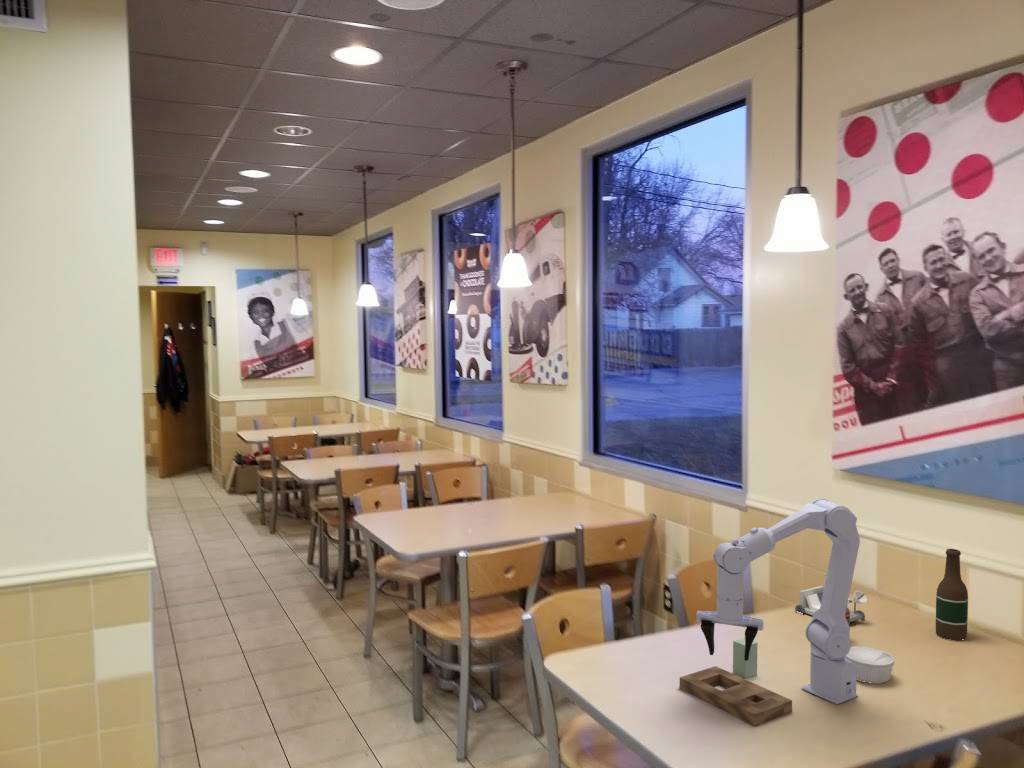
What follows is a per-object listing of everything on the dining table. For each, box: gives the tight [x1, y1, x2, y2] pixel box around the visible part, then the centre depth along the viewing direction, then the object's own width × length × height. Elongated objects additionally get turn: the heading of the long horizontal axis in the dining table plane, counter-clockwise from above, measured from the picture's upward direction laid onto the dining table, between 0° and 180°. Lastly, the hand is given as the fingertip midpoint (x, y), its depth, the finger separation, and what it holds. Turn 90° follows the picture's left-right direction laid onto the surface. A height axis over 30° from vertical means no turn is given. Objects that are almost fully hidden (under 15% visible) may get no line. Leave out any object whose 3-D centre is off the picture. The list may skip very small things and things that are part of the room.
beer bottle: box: [935, 548, 969, 641], centre depth 214 cm, size 8×8×24 cm
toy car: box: [794, 585, 868, 623], centre depth 229 cm, size 18×10×12 cm
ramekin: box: [845, 646, 895, 684], centre depth 189 cm, size 11×11×5 cm
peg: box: [732, 637, 758, 680], centre depth 190 cm, size 4×4×8 cm
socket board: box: [679, 665, 793, 727], centre depth 176 cm, size 22×12×2 cm, turn 33°
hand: (729, 656), depth 177 cm, fingers open, 7 cm apart
